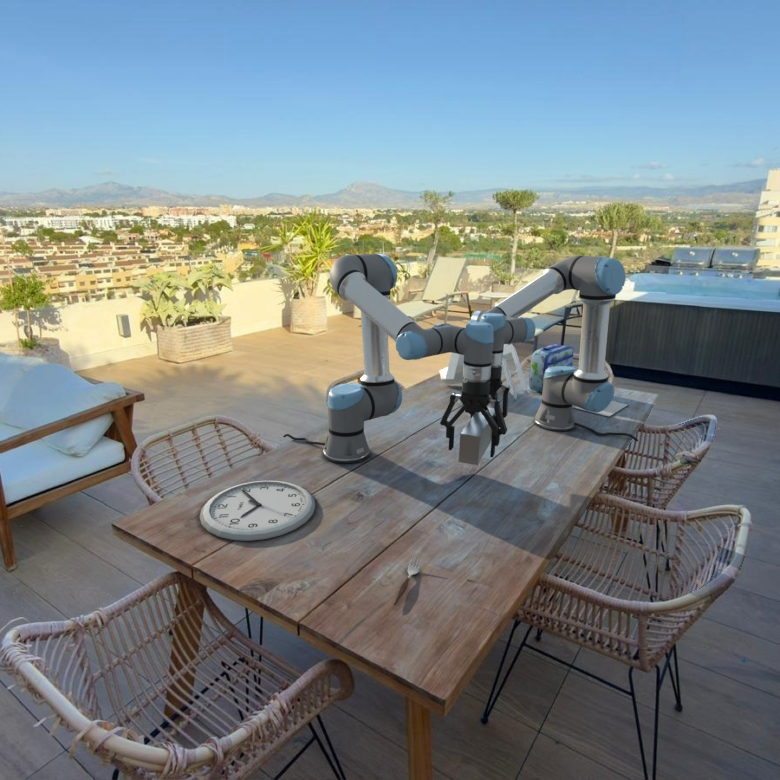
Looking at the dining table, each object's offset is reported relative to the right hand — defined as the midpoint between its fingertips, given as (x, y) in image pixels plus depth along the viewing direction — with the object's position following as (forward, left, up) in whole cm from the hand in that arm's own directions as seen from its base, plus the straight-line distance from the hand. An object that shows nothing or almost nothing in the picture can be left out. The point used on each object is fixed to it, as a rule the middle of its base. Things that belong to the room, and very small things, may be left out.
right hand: (484, 435), depth 166 cm
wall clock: (+61, +38, -10) cm, 72 cm away
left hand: (+5, +17, +1) cm, 18 cm away
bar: (+2, +9, -1) cm, 9 cm away
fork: (+19, +63, -10) cm, 66 cm away
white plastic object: (-3, -78, -10) cm, 79 cm away
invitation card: (-54, -66, -10) cm, 86 cm away
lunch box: (-36, -89, -10) cm, 97 cm away
